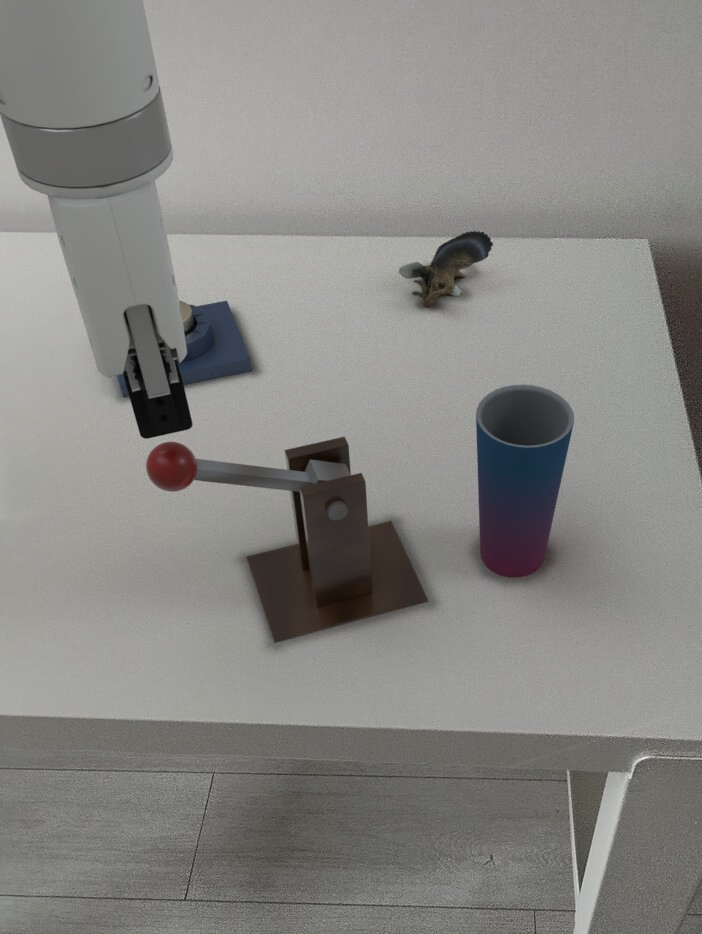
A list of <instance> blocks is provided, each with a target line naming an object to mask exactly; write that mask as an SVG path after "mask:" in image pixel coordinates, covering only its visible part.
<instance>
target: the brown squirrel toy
mask: <svg viewBox="0 0 702 934" xmlns="http://www.w3.org/2000/svg"><path fill="white" fill-rule="evenodd" d="M491 240H492V238H491V237H490V236H488V233H485V231H479V230H478V231H476V230H474V231H472V230H470V231H466V232H463V233H461V234H460V235H458V236H455V237H453V238H451V239H449V240H448V241H446V242H444V243H442V244H440V246H438V248H437V249H436V252H435V254H434V255H433V258H432V260H431V262H430V264H427V265H423V264H422V263H420V262H418V261H413V262H409V263H406V264H404V265H401V266H400V267H399V268H398V274H399V275H401V277H403V278H404V279H408V280H410V279H414V280H413V283H416V284H418V285H419V286H420V288H421V292H420V291H417V290H416V291H411V292H412V293H411V294H412V295H413V296H415V297H416V296H417V297H420V298H421V299H422V307H423V308H431V307H432V306H433V305H434V303H435V300H436V298H437V297H439V296H441V295H446V294H449V295H451V296H453V297H461V296H463V294H464V293H463V291H462V290H461V289H460V287H459V286H458V285H457V284H456V282H455V278H466V277H467V275H466V274H464V273H463V272H461V270H464V269H467V268H470V267H471V266H472V265H473V264H477V263H480V262H482V261H484V260H485V259H487V258H488V257H489V253H490V252H491V251H492V249H493V248H492V247H493V246H494V243H493V242H492V241H491ZM416 278H421V279H416ZM422 279H423V280H422Z"/></svg>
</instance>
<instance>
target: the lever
mask: <svg viewBox="0 0 702 934" xmlns="http://www.w3.org/2000/svg"><path fill="white" fill-rule="evenodd" d="M145 469H146V470H145V471H146V474H147V476H148V478H149V480H150V481H151V483H152V484H153V485H154V486H155V487H157V488H158V489H160V490H162V491H165V492H170V493H175V492H181V491H183V490H185V489H187V488H189V486H191V485H192V484H193V483H194V481H199V482H207V483H216V484H224V485H234V486H244V487H251V488H260V489H261V488H262V489H271V490H279V491H289V492H290V491H297V492H300V489H299V488H300V487H303V486H307V485H311V484H315V483H320V482H324V481H328V480H333V479H337V478H341V477H345V476H350V473H349V471H348V468H347V466H346V464H341V463H333V462H326V461H318V460H309V463H308V465H307V467H306V470H305V472H302V471H293V470H287V469H284V468H276V467H268V466H259V465H251V464H244V463H233V462H227V461H218V460H211V459H203V458H202V459H201V458H196V456H195V454H194V453H193V451H192V450H191V449H190V448H189V447H188V446H186V445H185V444H183V443H180V442H177V441H165V442H162V443H160V444H157V445H156V446H154V448H152V450H151V451H150V452H149V453H148V455H147V458H146V463H145Z"/></svg>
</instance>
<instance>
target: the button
mask: <svg viewBox="0 0 702 934" xmlns="http://www.w3.org/2000/svg"><path fill="white" fill-rule="evenodd" d="M179 303H180V309H181V315H182V321H183V328H184V334H185V336H186V335H188V334H190V333H191V332H192V331H193V330H194V327H195V325H194V320H193V315H192V310H191V307H190V306H189V305H190V304H189V303H187V302H186V301H183V300H180V299H179ZM188 304H189V305H188Z"/></svg>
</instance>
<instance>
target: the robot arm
mask: <svg viewBox="0 0 702 934" xmlns="http://www.w3.org/2000/svg"><path fill="white" fill-rule="evenodd" d="M145 9H146V8H145V5H144V0H0V120H1V122H2V125H3V129H4V132H5V135H6V138H7V141H8V144H9V147H10V150H11V155H12V157H13V160H14V163H15V167H16V170H17V173H18V176H19V178H20V180H21V181H22V182H23V183H24V185H26V186H28V187H29V189H31V190H33V191H35V192H37V193H40V194H43V195H46V196H47V201H48V205H49V209H50V213H51V216H52V220H53V224H54V228H55V231H56V235H57V239H58V242H59V246H60V249H61V252H62V253H61V254H62V256H63V259H64V263H65V265H66V269H67V272H68V276H69V279H70V282H71V285H72V289H73V293H74V295H75V298H76V299H75V300H76V301H77V302H76V303H77V305H78V308H79V311H80V315H81V318H82V321H83V325H84V328H85V332H86V335H87V337H88V341H89V345H90V348H91V351H92V355H93V358H94V361H95V364H96V368H97V371H98V373H99V374H101V375H102V376H104V377H105V378H107V379H110V378H113V377H114V376H117V375H120V374H123V376H124V379H125V383H126V387H127V390H128V394H129V396H128V397H129V401H130V403H131V408H132V411H133V414H134V419H135V422H136V425H137V428H138V432H139V435H140V437H141V438H142V439H145V440H148V439H153V438H157V437H161V436H166V435H170V434H175V433H179V432H183V431H187V430H190V429H192V427H193V423H194V422H193V419H192V415H191V411H190V406H189V403H188V398H187V394H186V389H185V385H183V380H182V376H181V373H180V371H179V367H178V364H177V361H174V360H176V359H177V360H178V362H179V363H181V362H182V361H183V359H184V358H185V356H186V354H187V348H186V341H185V334H184V328H183V321H182V315H181V309H180V303H179V300H180V298H179V292H178V286H177V280H176V276H175V270H174V265H173V260H172V255H171V249H170V245H169V240H168V236H167V235H168V234H167V229H166V226H165V220H164V217H163V216H164V215H163V211H162V207H161V202H160V198H159V193H158V187H157V184H156V180H157V179H158V178H160V177H161V176H163V174H165V172H166V171H167V170H168V169H170V167H171V165H172V162H173V160H174V149H173V145H172V139H171V134H170V128H169V124H168V120H167V119H168V118H167V115H166V110H165V104H164V99H163V94H162V90H161V89H162V88H161V86H160V80H159V75H158V70H157V65H156V60H155V54H154V50H153V44H152V39H151V36H150V35H151V34H150V30H149V29H150V28H149V25H148V20H147V16H146V10H145ZM133 361H134V362H133ZM134 363H135V365H134ZM125 367H126V371H124V368H125Z"/></svg>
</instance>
